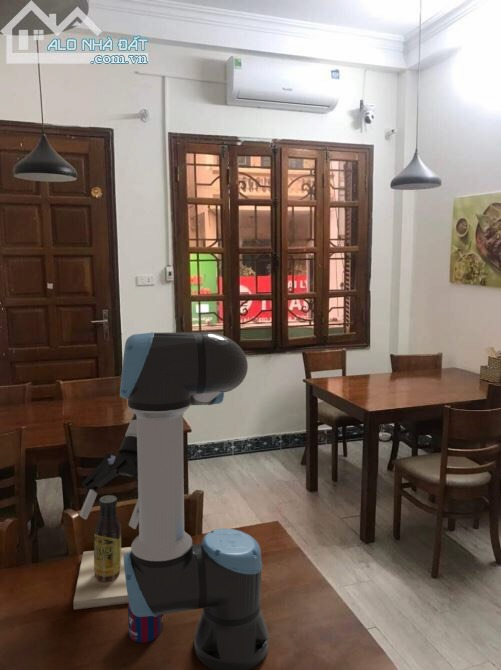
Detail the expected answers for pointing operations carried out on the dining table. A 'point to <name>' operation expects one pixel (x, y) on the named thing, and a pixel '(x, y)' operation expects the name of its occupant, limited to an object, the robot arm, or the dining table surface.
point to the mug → (143, 627)
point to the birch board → (99, 585)
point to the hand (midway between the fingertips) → (107, 522)
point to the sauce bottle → (107, 541)
